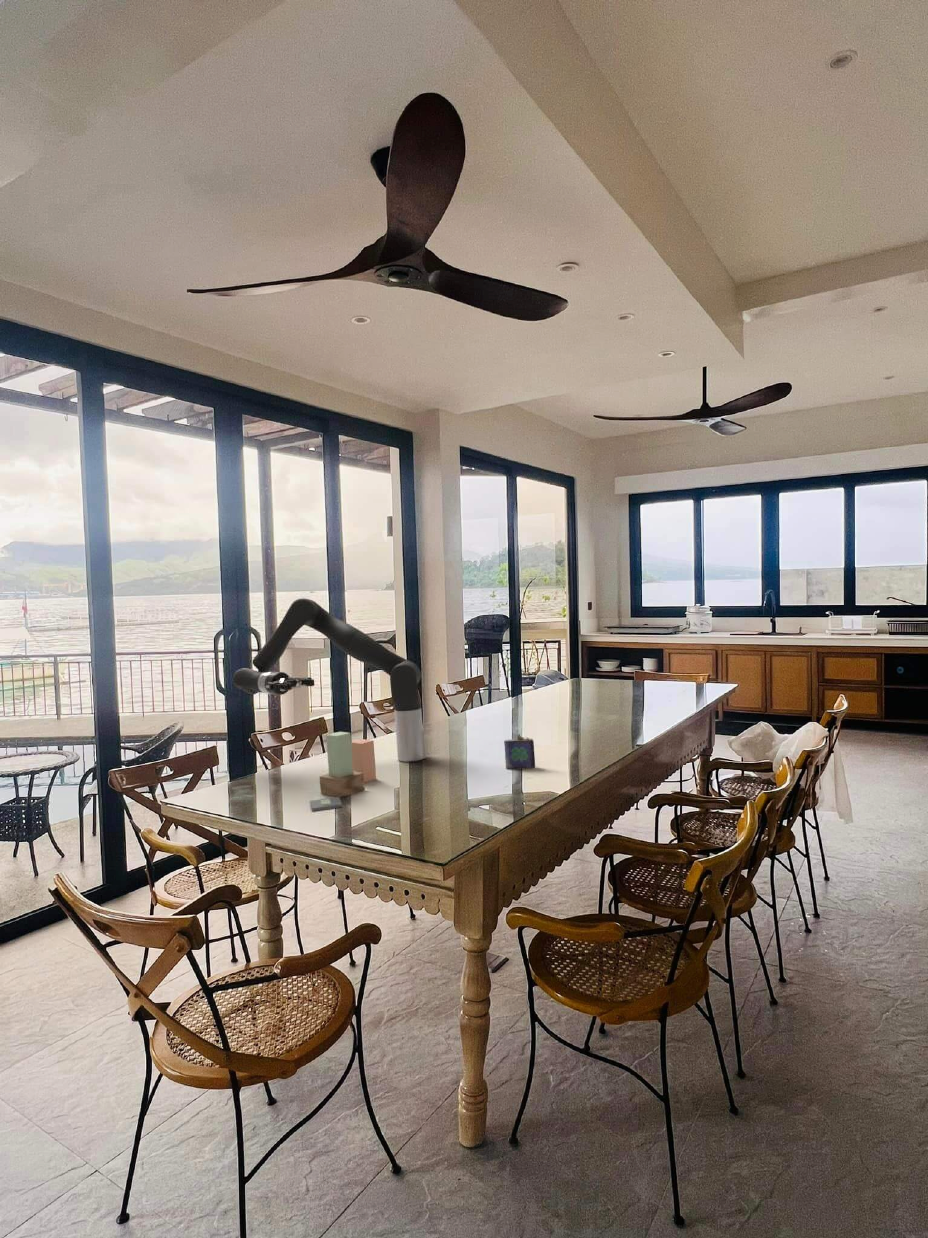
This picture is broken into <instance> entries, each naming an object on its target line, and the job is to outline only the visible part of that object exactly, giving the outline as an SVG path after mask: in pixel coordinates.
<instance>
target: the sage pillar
mask: <svg viewBox="0 0 928 1238" xmlns="http://www.w3.org/2000/svg"><path fill="white" fill-rule="evenodd" d="M325 737H326V751H327V764H328V765H327V766H328V774H329V776H334V777H339V778H340V777H343V776H347V775H350V774H353V761H352V748H351V742H352V737H351V732H345V731H337V732H332V733H329V734H328V733H327V734H326V735H325Z"/></svg>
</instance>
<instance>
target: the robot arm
mask: <svg viewBox="0 0 928 1238" xmlns="http://www.w3.org/2000/svg"><path fill="white" fill-rule="evenodd" d="M304 626H307V627H308V628H311V629H313V630H315V631H317V632H319V633H321V634H322V635H323V636H325V637H326V638H328V640H329V641H330V642H331V643H332V644H333V645H334V646H336V647H337V648H338V649H339V650H340V651H342V652H344V653H345V654H347V655H348V656H350V657H352V658H353V659H355V660H356V661H359V662H361V663H363V664H367V665H369V666H372V667H375V668H377V669H379V670H381V671H383V672H385V674H386V675H388V676H389V683H390V684H389V685H390V693H391V700H392V704H393V709H394V723H395V724H394V725H395V739H396V748H397V749H396V751H397V753H396V755H397V760H398V761H399V762H407V763H408V762H416V761H421V760H423V759H427V752H426V748H427V747H426V738H425V737H426V736H425V735H426V734H425V731H424V729H423V728H424V727H423V716H422V702H421V699H420V698H419V690H418V689H419V688H418V684H419V683H420V681H421V678H422V673H421V670H420V668H419V667H418V665H417V664H416V663H414V662H412V661H410V660H409V659H407V658H404V657H402V656H400V655H398V654H397V653H396V654H395V652H393V651H391V650H389V649H388V648H386V647H385V646H383V645H382V644H381V643H380V642H378V641H377V640H375V639H374V638H372V637H371V636H369V635H368V634H366V633H365V632H363V631H361V630H360V629H359V628H356V627H354V626H353V625H351V624H349V623H347V622H346V621H344V620H341V619H339V618H337V617H335V616H334V615H333V614H331V613H330V612H329V611H327V610H326V609H325V608H323V607H322V606H321V605H320V604H318V603H317V602H316V601H314V600H312V599H309V598H305V597H301V598H297V599H295V600H294V601H293V602H292V603H291V604H290V606H289V608H288V609H287V611H286V612H285V615H284V616H283V619H282V620H281V622H280V623H279V625H278V626H277V628H276V629H275V631H274V632H273V633H272V635H271V636H270V638H269V639H268V640H267V641H266V642H265V644H264V645H263V646H262V648H261V649H260V650H259V651H258V652H257V653H256V654H255V656H254V657H253V658H252V665H253V666H254V667H255V668H256V669H257V670H254V669H250V668H248V667H243V668H240V669H237V670H236V671H235V672H234V673H233V676H232V678H231V679H232V683H233V685H234V686H235V687H236V688H238V689H240V690H241V691H244V692H245V693H247V694H249V695H256V694H258V693H263V694H266V695H267V694H268V695H275V696H277V695H278V696H279V695H280V696H282V695H285V694H286V693H288V692H289V691H291V690H293V689H301V688H302V687H314V686H315V680H314V679H313V678H312V677H311V676H310V677H308V676H307V677H306V676H304V677H302V676H297V677H293V676H289V675H288V673H287V672H283V671H271V670H272V669H273V667H274V666H275V665H276V664H277V663H278V661H279V660H280V659H281V658H282V656H283V654H284V653H285V651H286V649H287V647H288V646H289V643H290V642H291V640H292V638H293V636H294V635H296V633H297V632H298V631H299V630H300V629H301V628H303V627H304Z"/></svg>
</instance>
